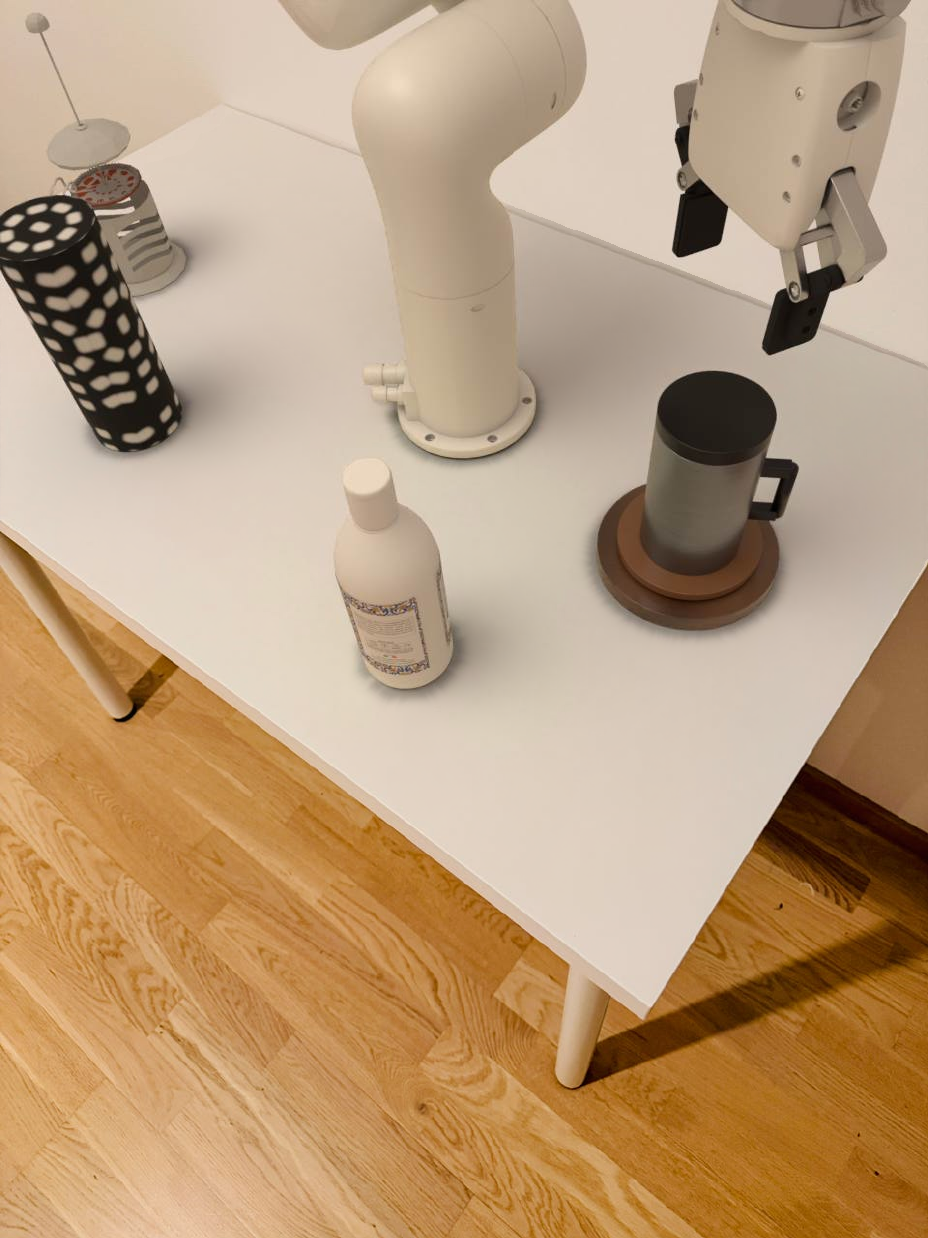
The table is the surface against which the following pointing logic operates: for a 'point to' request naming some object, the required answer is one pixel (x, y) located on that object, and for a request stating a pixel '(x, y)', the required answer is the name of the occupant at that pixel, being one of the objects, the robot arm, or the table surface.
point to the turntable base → (679, 610)
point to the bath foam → (391, 581)
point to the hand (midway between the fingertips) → (739, 294)
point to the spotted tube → (87, 320)
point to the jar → (705, 488)
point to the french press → (114, 194)
